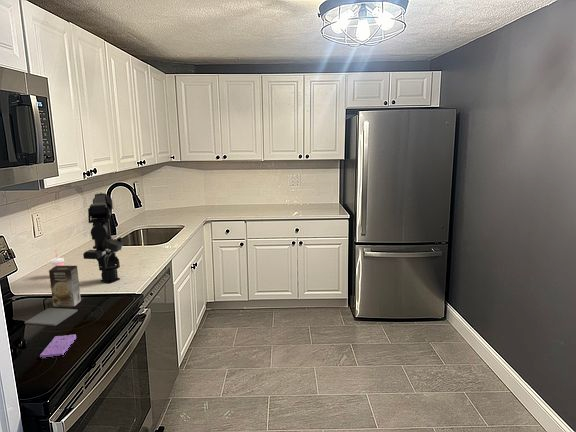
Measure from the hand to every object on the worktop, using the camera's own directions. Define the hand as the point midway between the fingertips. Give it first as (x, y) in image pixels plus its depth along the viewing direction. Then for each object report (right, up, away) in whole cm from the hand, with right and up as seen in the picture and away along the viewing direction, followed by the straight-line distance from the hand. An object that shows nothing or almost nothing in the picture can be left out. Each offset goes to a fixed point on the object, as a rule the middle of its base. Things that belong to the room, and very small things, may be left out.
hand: (104, 268), depth 180 cm
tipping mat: (-13, -17, -17) cm, 27 cm away
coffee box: (-14, -15, -4) cm, 21 cm away
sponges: (+2, -22, -39) cm, 45 cm away
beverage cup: (-36, -8, +29) cm, 46 cm away
